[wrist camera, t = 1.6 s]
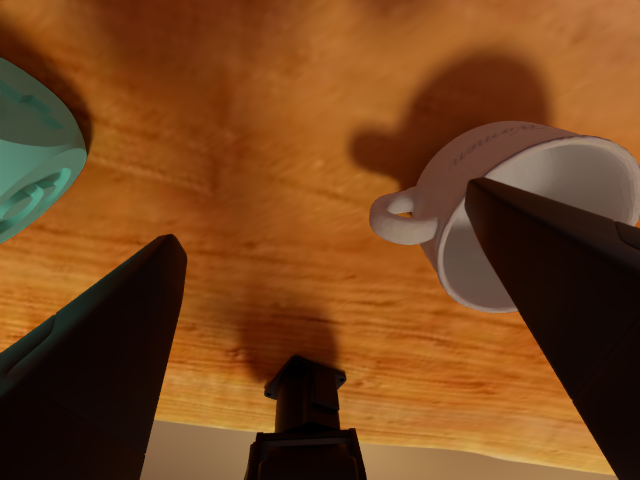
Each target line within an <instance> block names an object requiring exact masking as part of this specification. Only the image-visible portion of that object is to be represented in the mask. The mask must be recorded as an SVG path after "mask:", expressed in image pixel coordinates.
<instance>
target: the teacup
mask: <svg viewBox="0 0 640 480" xmlns="http://www.w3.org/2000/svg"><path fill="white" fill-rule="evenodd" d="M480 177H486V178H489V179H492V180H495V181H498V182H501V183H504V184H507V185H510V186H513V187H516V188H519V189H522V190H525V191H528V192H531V193H534V194H537V195H540V196H543V197H546V198H549V199H552V200H555V201H559V202H562V203H565V204H568V205H571V206H574V207H577V208H580V209H583V210H586V211H589V212H592V213H595V214H598V215H601V216H604V217H607V218H610V219H613V220H614V222H615V221H619V222H622V223H625V224H628V225H631V226H635V225H636V223H637V221H638V219H639V215H640V166H639V165H638V163H637V161H636V159H635V158H634V157H633V156H632V155H631V154H630V153H629V152H628V151H627V150H626V149H625V148H623V147H621V146H620V145H619V144H616V143H614V142H612V141H610V140H608V139H603V138H600V137H596V136H588V135H579V134H576V133H573V132H569V131H566V130H562V129H558V128H554V127H550V126H546V125H542V124H537V123H531V122H525V121H501V122H493V123H489V124H485V125H482V126H479V127H476V128H473V129H471V130H469V131H467V132H465V133H463V134H461V135H459V136H458V137H456V138H454V139H453V140H452V141H450V142H449V143H448V144H446V145H445V146H444V147H443V148H442V149H441V150H440V151H438V152H437V153H436V155H435V156H434V157H433V158H432V159H431V160H430V162H429V163H428V164H427V166H426V167H425V169H424V170H423V172H422V174H421V176H420V178H419V179H418V182H417V184H416V186H415V187H410V188H408V189H406V190H405V191H400V192H396V193H391V194H387V195H384V196H382V197H379V198H378V199H376V200H375V201H374V203H373V204H372V206H371V209H370V216H369V222H370V226H371V228H372V230H373V231H374V232H375V233H376V234H377V235H379V236H380V237H382V238H383V239H385V240H387V241H390V242H393V243H398V244H405V245H414V244H420V245H421V247H422V249H423V250H424V252H425V254H426V256H427V258H428V259H429V261H430V263H431V264H432V266H433V267H434V269H435V271H436V272H437V275H438V278H439V280H440V283H441V285H442V286H443V288H444V289H445V291H446V292H447V293H448V294H449V295H450V296H451V297H452V298H453V299H454V300H456V301H457V302H459V303H460V304H462V305H464V306H466V307H469V308H472V309H475V310H478V311H481V312H489V313H509V312H515V311H518V310H517V308H516V306H515V305H514V303H513V301H512V300H511V298H510V296H509V294H508V293H507V291H506V289H505V288H504V286H503V284H502V283H501V281H500V279H499V278H498V276H497V274H496V273H495V271H494V269H493V268H492V266H491V264H490V263H489V261H488V259H487V258H486V256H485V254H484V252H483V250H482V248H481V246H480V244H479V241H478V239H477V237H476V235H475V232H474V230H473V228H472V225H471V223H470V221H469V218H468V216H467V214H466V211H465V207H464V202H465V195H466V188H467V183H468V181H469V180H470V179H474V178H480ZM404 212H411V215H412V218H408V217H401V216H397V215H395V214H399V213H404Z"/></svg>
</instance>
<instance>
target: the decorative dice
mask: <svg viewBox="0 0 640 480" xmlns="http://www.w3.org/2000/svg"><path fill="white" fill-rule="evenodd" d="M86 159H87V153H86V147H85V143H84V139H83V136H82V133H81V131H80V129H79V126H78V124H77V122H76V120H75V119H74V117H73V115H72V113H71V112H70V111H69V109H68V108H67V107H66V106H65V104H64V103H63V102H62V101H61V100H60V99H59V98H58V97H57V96H56V95H55V94H54V93H53V92H51V91H50V90H49V89H48V88H47V87H45V86H44V85H43V84H42V83H40V82H39V81H38V80H36V79H35V78H34V77H32V76H31V75H29V74H28V73H26V72H25V71H23V70H22V69H20V68H19V67H17V66H15V65H14V64H12V63H10V62H9V61H7V60H5V59H3V58H1V57H0V244H1V243H3V242H5V241H6V240H8V239H10V238H11V237H13V236H14V235H16V234H18V233H19V232H20V231H22V230H23V229H25V228H26V227H27V226H29V225H30V224H31V223H33V222H34V221H35V220H36V219H38V218H39V217H40V216H41V215H42V214H43V213H45V212H46V211H47V210H48V209H49V208H50V207H51V206H52V205H53V204H54V203H55V202H56V201H57V200H58V199H59V198H60V197H61V196H62V195H63V194H64V193H65V192H66V191H67V190H68V188H69V187H70V186H71V185H72V184H73V182H74V181H75V180H76V178H77V177H78V175H79V174H80V172H81V171H82V169H83V167H84V165H85V162H86Z"/></svg>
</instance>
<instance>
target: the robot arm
mask: <svg viewBox="0 0 640 480" xmlns="http://www.w3.org/2000/svg"><path fill="white" fill-rule="evenodd" d="M464 207H465V211H466V214H467V216H468V218H469V221H470V223H471V225H472V228H473V230H474V232H475V235H476V237H477V239H478V241H479V244H480V246H481V248H482V250H483V252H484V254H485V256H486V258H487V259H488V261H489V263H490V264H491V266H492V268H493V269H494V271H495V273H496V274H497V276H498V278H499V279H500V281H501V283H502V284H503V286H504V288H505V289H506V291H507V293H508V294H509V296H510V298H511V300H512V301H513V303H514V305H515V306H516V308H517V310H518V311H519V313H520V315H521V316H522V318H523V320H524V321H525V323H526V325H527V326H528V328H529V330H530V331H531V333H532V335H533V336H534V338H535V340H536V341H537V343H538V345H539V346H540V348H541V350H542V351H543V353H544V355H545V357H546V358H547V360H548V362H549V363H550V365H551V367H552V368H553V370H554V372H555V373H556V375H557V377H558V378H559V380H560V382H561V383H562V385H563V387H564V388H565V390H566V392H567V393H568V395H569V397H570V398H571V399H572V400H573V401H572V402H573V404H574V406H575V407H576V409H577V411H578V412H579V414H580V416H581V417H582V419H583V421H584V422H585V424H586V426H587V427H588V429H589V431H590V432H591V434H592V436H593V437H594V439H595V441H596V442H597V444H598V446H599V447H600V449H601V451H602V453H603V454H604V456H605V458H606V459H607V461H608V463H609V464H610V466H611V468H612V469H613V471H614V473H615V474H616V476H617V477H618V479H619V480H640V228H637V227H634V226H631V225H628V224H625V223H622V222H619V221H615V222H614V220H613V219H610V218H607V217H604V216H601V215H598V214H595V213H592V212H589V211H586V210H583V209H580V208H577V207H574V206H571V205H568V204H565V203H562V202H559V201H555V200H552V199H549V198H546V197H543V196H540V195H537V194H534V193H531V192H528V191H525V190H522V189H519V188H516V187H513V186H510V185H507V184H504V183H501V182H498V181H495V180H492V179H489V178H486V177H480V178H474V179H470V180H469V181H468V183H467V188H466V195H465V202H464ZM186 267H187V255H186V252H185V251H184V249H183V247H182V246H181V244H180V243H179V241H178V239H177V238H176V237H175V236H174V235H173V234H167V235H162V236H159V237H157V238H156V239H154V240H153V241H152V242H150V243H149V244H148V245H146V246H145V247H144V248H142V249H141V250H140V251H138V252H137V253H136V254H134V255H133V256H132V257H130V258H129V259H128V260H126V261H125V262H124V263H122V264H121V265H120V266H118V267H117V268H116V269H114V270H113V271H112V272H110V273H109V274H108V275H106V276H105V277H104V278H102V279H101V280H100V281H98V282H97V283H96V284H94V285H93V286H92V287H90V288H89V289H87V290H86V291H85V292H83V293H82V294H81V295H79V296H78V297H77V298H75V299H74V300H73V301H71V302H70V303H69V304H67V305H66V306H65V307H63V308H62V309H61V310H59V311H58V312H57V313H56V315H53V316H51V317H50V318H49V319H47V320H46V321H45V322H43V323H42V324H41V325H39V326H38V327H36V328H35V329H34V330H32V331H31V332H30V333H28V334H27V335H25V336H24V337H23V338H21V339H20V340H19V341H17V342H16V343H14V344H13V345H11V346H10V347H9V348H7V349H6V350H4V351H3V352H1V353H0V480H139V479H140V475H141V471H142V467H143V463H144V459H145V455H144V454H145V453H146V450H147V446H148V442H149V437H150V433H151V429H152V425H153V421H154V417H155V413H156V408H157V404H158V400H159V396H160V392H161V388H162V384H163V379H164V375H165V371H166V367H167V363H168V359H169V355H170V350H171V346H172V342H173V338H174V334H175V330H176V326H177V321H178V317H179V313H180V309H181V304H182V299H183V292H184V284H185V275H186ZM345 381H346V375H345V374H344V373H341V372H338V371H336V370H333V369H331V368H328V367H325V366H323V365H320V364H318V363H315V362H312V361H310V360H307V359H305V358H302V357H299V356H292V357H291V358H290V360H289V361H288V362H287V363H286V364H285V366H284V367H283V368H282V369H281V371H280V372H279V373H278V374H277V375H276V377H275V378H274V379H273V380H272V382H271V383H270V384H269V385H268V386H267V388H266V389H265V391H264V395H265V396H266V397H268V398H271V399H274V400H277V404H276V419H275V433H263V432H257V435H256V441H255V442H253V444H251V445H250V453H249V460H248V467H247V470H246V474H245V477H244V480H367V478H366V472H365V467H364V463H363V459H362V455H361V451H360V446H359V442H358V438H357V434H356V430H355V428H349V430H340V421H339V413H338V411H339V400H338V392H337V390H338V389H339V388H340V387H341V386H342V385H343V384H344V382H345Z"/></svg>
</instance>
